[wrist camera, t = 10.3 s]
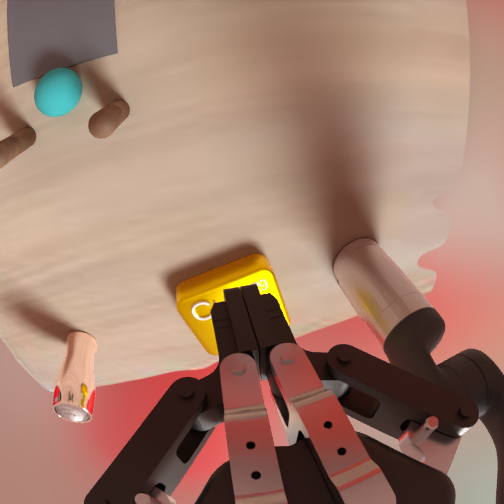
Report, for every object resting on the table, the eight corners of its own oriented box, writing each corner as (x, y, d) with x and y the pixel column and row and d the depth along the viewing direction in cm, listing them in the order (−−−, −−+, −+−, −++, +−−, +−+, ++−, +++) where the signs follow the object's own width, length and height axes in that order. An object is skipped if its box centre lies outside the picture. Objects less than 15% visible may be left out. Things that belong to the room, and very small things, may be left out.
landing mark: (117, 53, 27) (117, 53, 27) (13, 87, 25) (13, 87, 25) (113, -48, 19) (113, -49, 19) (8, -9, 17) (7, -10, 17)
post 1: (37, 143, 30) (5, 167, 23) (21, 149, 30) (-12, 174, 22) (33, 124, 29) (-1, 143, 21) (17, 130, 28) (-18, 151, 21)
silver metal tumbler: (57, 338, 47) (43, 408, 35) (79, 323, 46) (66, 398, 34) (85, 358, 51) (77, 427, 39) (107, 345, 51) (102, 418, 38)
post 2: (131, 118, 32) (117, 135, 25) (110, 123, 32) (91, 141, 24) (128, 97, 31) (113, 107, 23) (106, 102, 30) (86, 114, 23)
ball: (88, 116, 29) (66, 102, 23) (47, 126, 28) (22, 115, 23) (91, 72, 28) (72, 54, 22) (51, 84, 28) (28, 68, 22)
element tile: (208, 340, 56) (211, 361, 52) (170, 283, 47) (171, 305, 43) (285, 311, 56) (294, 330, 52) (263, 247, 47) (272, 266, 43)
